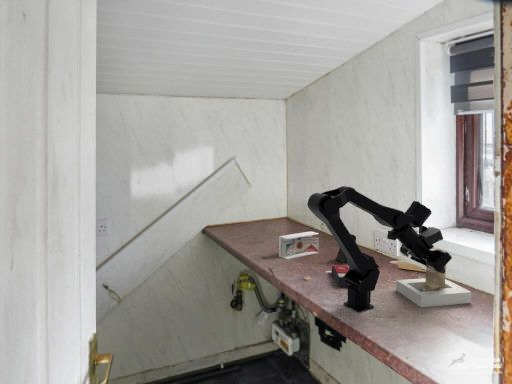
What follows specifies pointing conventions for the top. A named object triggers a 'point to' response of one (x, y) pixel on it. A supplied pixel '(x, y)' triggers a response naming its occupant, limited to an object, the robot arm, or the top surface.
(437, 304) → the keyhole plate
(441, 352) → the top surface
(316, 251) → the cigarette display
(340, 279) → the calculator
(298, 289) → the top surface
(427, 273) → the keyhole post
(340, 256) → the phone stand
